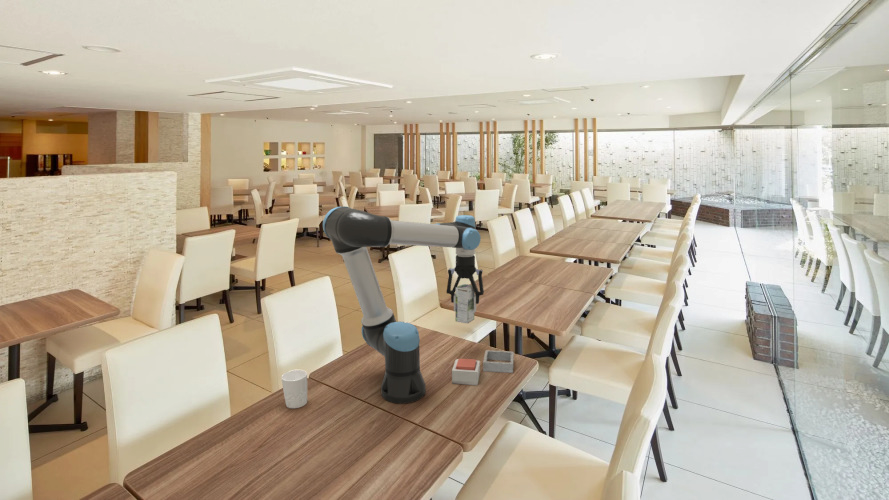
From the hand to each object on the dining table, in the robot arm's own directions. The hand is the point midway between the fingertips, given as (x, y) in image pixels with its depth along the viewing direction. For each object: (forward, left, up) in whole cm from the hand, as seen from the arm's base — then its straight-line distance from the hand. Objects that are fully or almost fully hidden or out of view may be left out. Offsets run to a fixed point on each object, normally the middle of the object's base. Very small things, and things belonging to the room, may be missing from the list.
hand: (465, 310), depth 183 cm
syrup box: (0, 0, -4) cm, 4 cm away
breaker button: (+3, -22, -17) cm, 28 cm away
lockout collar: (+14, -10, -18) cm, 25 cm away
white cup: (-50, -47, -18) cm, 71 cm away
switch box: (+3, -22, -18) cm, 28 cm away
